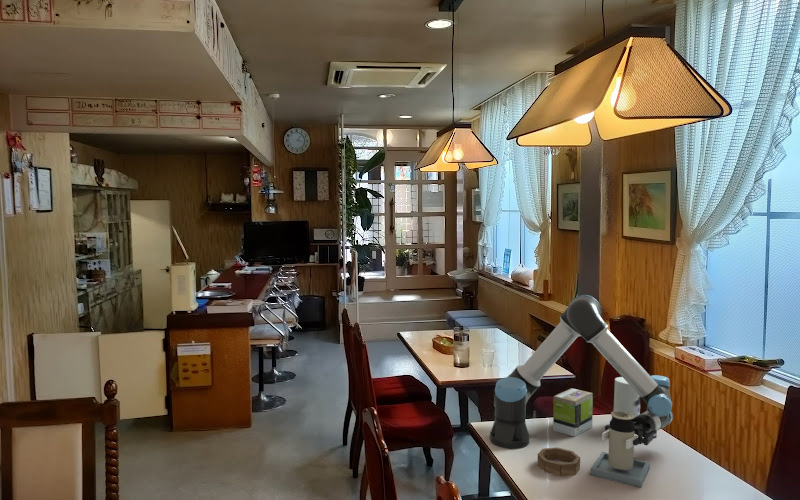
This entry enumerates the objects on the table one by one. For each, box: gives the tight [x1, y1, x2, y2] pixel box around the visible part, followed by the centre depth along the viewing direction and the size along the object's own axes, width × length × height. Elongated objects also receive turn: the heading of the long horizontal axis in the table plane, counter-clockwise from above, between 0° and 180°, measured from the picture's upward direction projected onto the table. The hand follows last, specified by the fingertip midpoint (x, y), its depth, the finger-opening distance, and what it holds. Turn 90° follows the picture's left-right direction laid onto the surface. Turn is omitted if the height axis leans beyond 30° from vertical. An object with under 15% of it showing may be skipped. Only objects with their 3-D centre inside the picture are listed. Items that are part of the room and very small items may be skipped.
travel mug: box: [608, 410, 635, 470], centre depth 198 cm, size 8×8×18 cm
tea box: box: [552, 387, 594, 437], centre depth 237 cm, size 15×10×15 cm
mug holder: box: [536, 447, 581, 477], centre depth 202 cm, size 13×13×4 cm
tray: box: [590, 451, 651, 489], centre depth 199 cm, size 16×16×2 cm
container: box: [613, 376, 641, 417], centre depth 239 cm, size 10×10×20 cm
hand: (614, 440), depth 195 cm, fingers closed on travel mug, 8 cm apart
